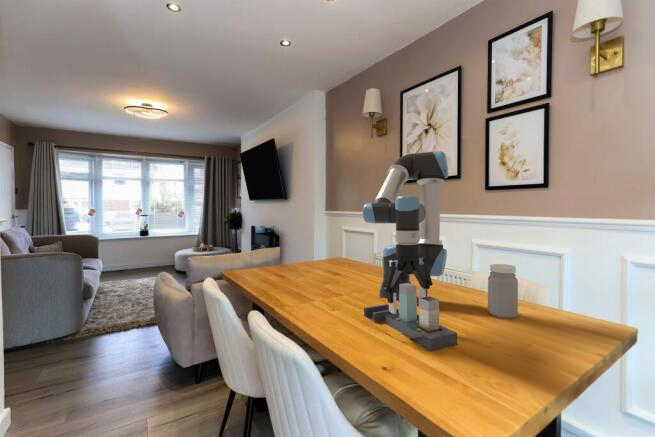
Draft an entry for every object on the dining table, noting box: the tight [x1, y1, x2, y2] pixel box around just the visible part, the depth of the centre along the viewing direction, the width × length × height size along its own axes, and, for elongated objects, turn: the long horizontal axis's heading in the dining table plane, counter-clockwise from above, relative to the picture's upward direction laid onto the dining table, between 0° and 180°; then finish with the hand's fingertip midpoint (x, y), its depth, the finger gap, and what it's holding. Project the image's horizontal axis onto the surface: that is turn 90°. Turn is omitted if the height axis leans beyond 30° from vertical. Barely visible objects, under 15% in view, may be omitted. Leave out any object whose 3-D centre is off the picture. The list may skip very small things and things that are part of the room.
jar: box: [487, 263, 519, 320], centre depth 117 cm, size 10×10×18 cm
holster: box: [363, 303, 399, 324], centre depth 114 cm, size 10×8×4 cm
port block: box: [384, 295, 458, 352], centre depth 100 cm, size 10×22×12 cm, turn 24°
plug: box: [398, 283, 418, 322], centre depth 104 cm, size 4×4×14 cm
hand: (407, 310), depth 104 cm, fingers open, 11 cm apart
